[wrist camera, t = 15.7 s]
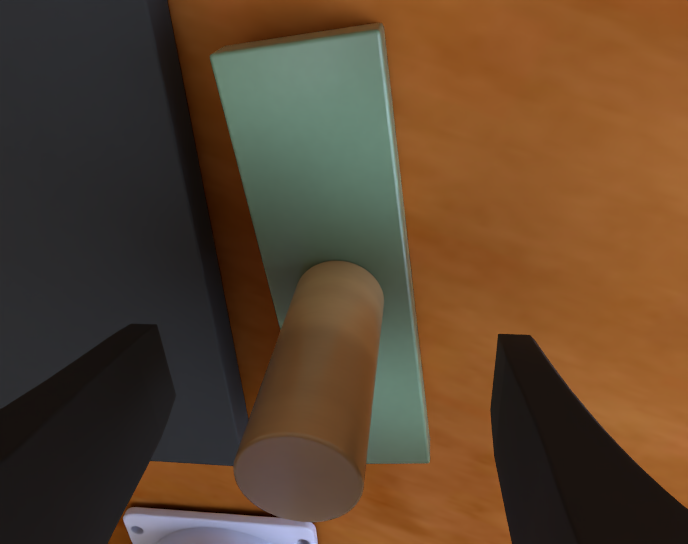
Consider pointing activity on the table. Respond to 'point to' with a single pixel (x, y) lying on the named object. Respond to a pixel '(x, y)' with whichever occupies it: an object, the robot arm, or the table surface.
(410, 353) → the brush
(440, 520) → the table surface
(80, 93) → the mat
